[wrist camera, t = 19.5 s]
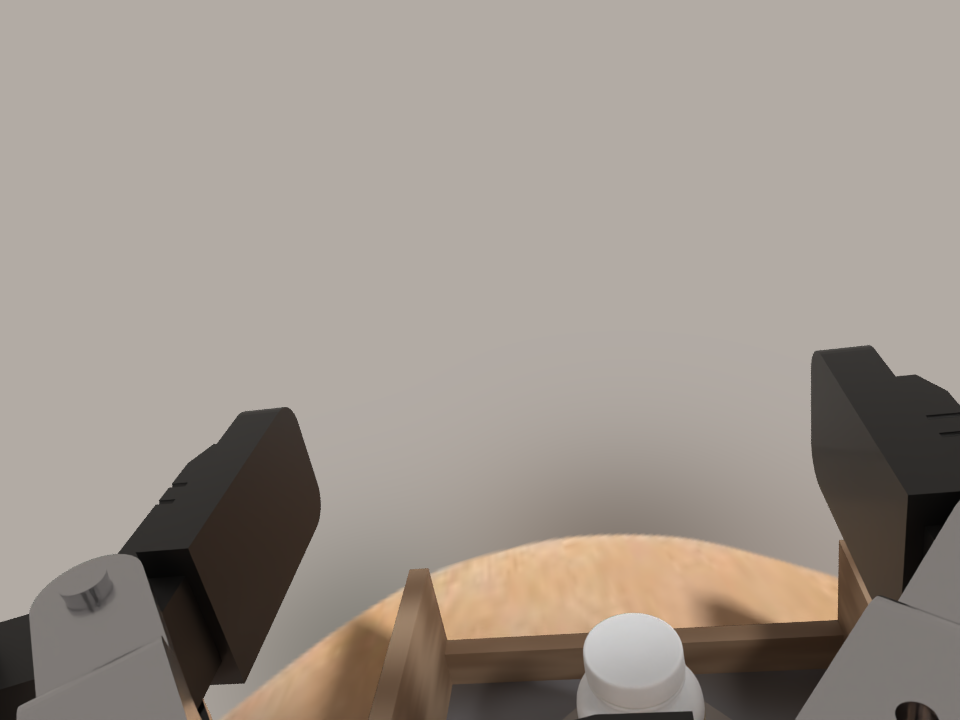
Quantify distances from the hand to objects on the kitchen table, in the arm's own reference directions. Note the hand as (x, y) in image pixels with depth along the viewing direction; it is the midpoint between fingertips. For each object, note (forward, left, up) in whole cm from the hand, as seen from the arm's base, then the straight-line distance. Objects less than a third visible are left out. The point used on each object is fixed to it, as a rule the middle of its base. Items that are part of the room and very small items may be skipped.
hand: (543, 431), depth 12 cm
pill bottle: (-3, -13, -27) cm, 30 cm away
